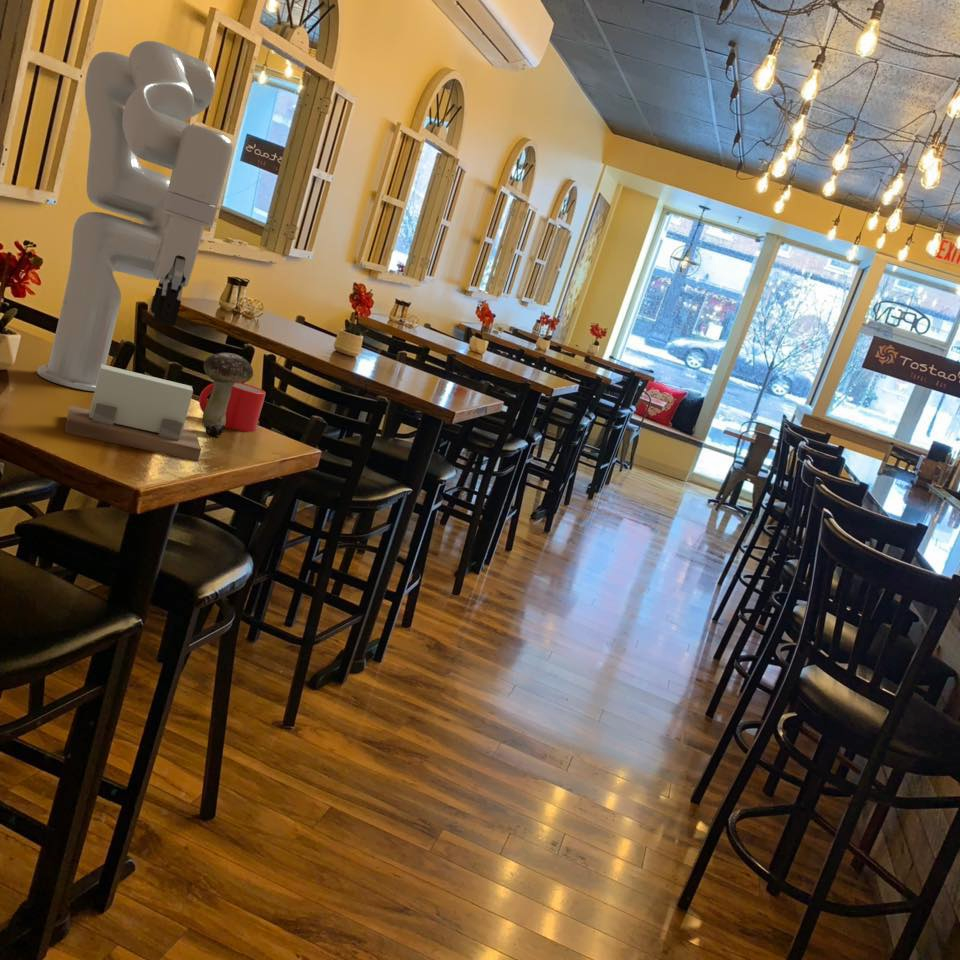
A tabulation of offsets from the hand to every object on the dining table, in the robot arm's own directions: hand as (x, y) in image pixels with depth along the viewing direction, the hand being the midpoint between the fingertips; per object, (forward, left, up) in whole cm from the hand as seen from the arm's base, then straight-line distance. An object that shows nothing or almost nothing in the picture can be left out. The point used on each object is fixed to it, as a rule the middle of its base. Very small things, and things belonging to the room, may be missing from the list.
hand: (162, 318), depth 146 cm
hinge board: (0, 0, -20) cm, 20 cm away
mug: (-28, +18, -20) cm, 39 cm away
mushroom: (-16, +14, -20) cm, 29 cm away
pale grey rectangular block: (0, 0, -18) cm, 18 cm away
